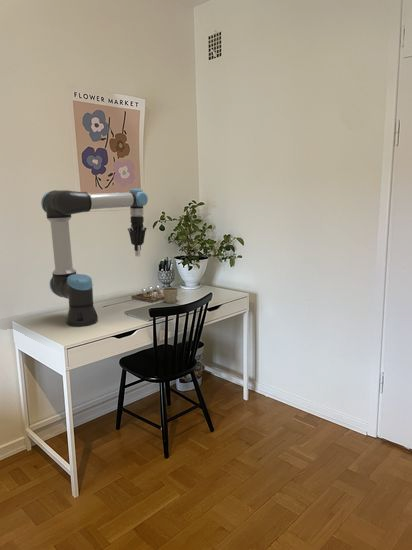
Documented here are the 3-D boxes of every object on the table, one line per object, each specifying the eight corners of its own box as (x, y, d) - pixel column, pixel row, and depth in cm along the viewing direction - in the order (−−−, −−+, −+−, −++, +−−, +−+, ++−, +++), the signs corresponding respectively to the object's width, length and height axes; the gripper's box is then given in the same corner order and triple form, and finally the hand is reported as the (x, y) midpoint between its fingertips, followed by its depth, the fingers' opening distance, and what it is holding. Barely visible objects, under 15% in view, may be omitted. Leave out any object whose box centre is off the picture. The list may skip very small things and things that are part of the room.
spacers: (155, 301, 246) (154, 293, 245) (137, 297, 254) (137, 289, 253) (174, 295, 259) (174, 287, 258) (157, 292, 268) (157, 284, 267)
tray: (152, 304, 243) (151, 299, 242) (131, 300, 253) (131, 295, 252) (177, 297, 260) (177, 292, 259) (157, 293, 270) (157, 289, 269)
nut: (151, 300, 248) (150, 296, 247) (143, 300, 248) (143, 296, 248) (153, 298, 253) (153, 294, 252) (146, 298, 253) (145, 294, 253)
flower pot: (159, 303, 246) (158, 288, 245) (172, 300, 253) (171, 286, 251) (168, 306, 239) (168, 291, 238) (181, 303, 246) (181, 288, 244)
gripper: (132, 216, 238) (133, 257, 242) (149, 215, 248) (150, 255, 252) (124, 216, 243) (125, 256, 247) (141, 215, 253) (141, 254, 257)
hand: (137, 256), depth 250 cm, fingers closed
